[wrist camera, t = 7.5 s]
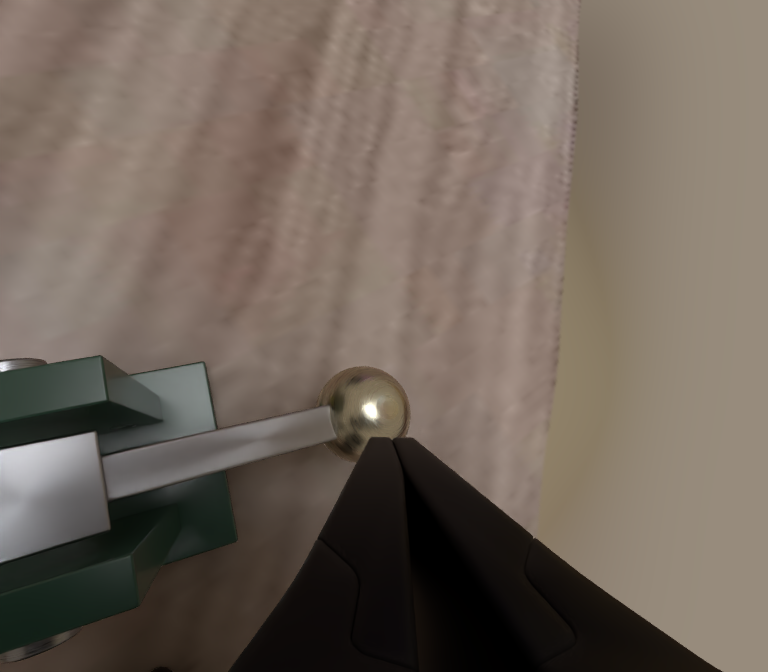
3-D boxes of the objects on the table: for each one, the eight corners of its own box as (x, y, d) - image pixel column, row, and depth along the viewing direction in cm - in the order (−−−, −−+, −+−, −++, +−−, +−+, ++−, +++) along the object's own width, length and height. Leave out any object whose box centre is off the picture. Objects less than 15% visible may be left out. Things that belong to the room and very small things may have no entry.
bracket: (205, 365, 19) (186, 296, 10) (237, 535, 18) (246, 624, 9) (-30, 409, 17) (-341, 366, 7) (-8, 613, 16) (-337, 849, 6)
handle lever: (365, 370, 18) (416, 351, 15) (385, 452, 17) (440, 446, 15) (-56, 446, 11) (-90, 434, 8) (-43, 590, 10) (-73, 623, 8)
